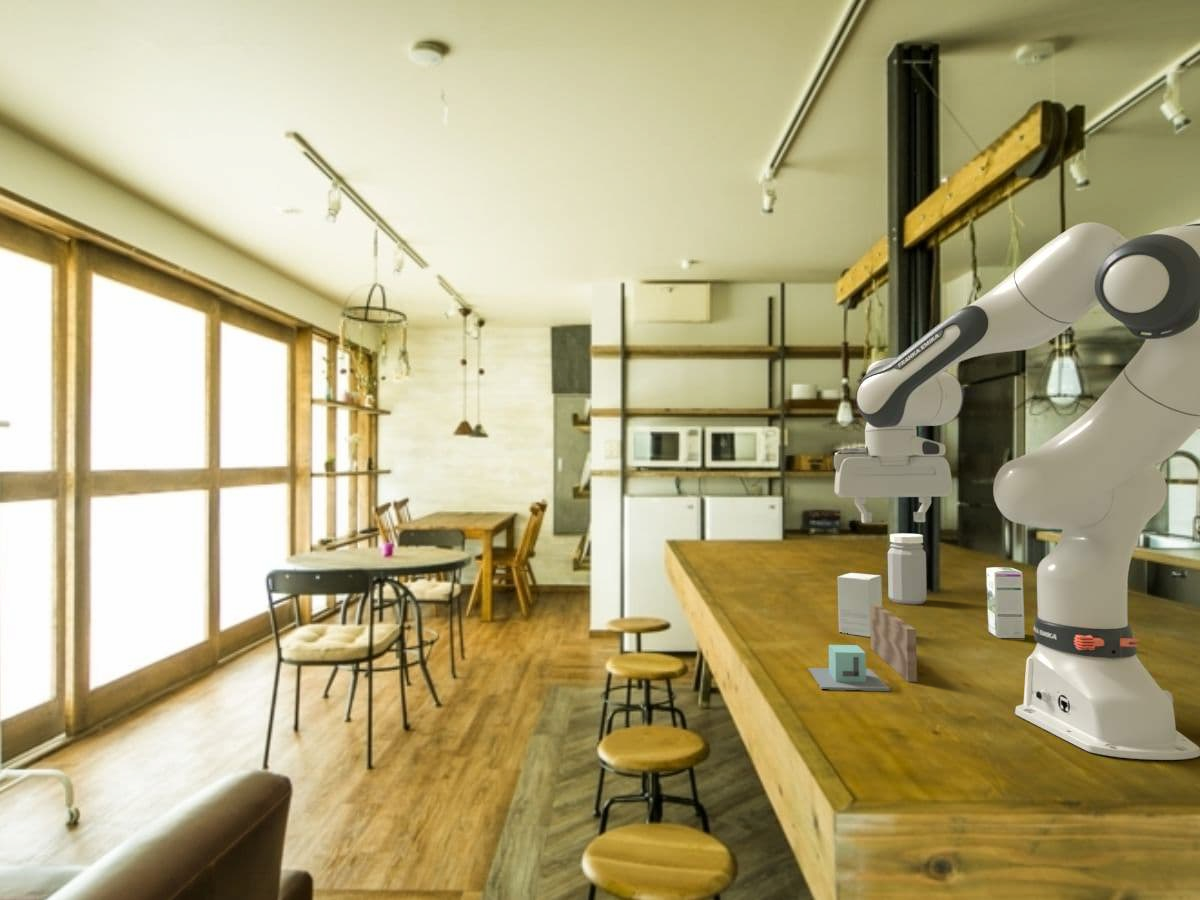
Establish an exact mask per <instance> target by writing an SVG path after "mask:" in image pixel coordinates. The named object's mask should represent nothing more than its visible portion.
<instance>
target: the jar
mask: <svg viewBox="0 0 1200 900" xmlns="http://www.w3.org/2000/svg"><path fill="white" fill-rule="evenodd" d="M923 538H924V535H923V534H920V533H918V534H917V533H900V532H899V533H890V534H889V542H891V544H890V545H889V547H890V548H889V550H888V551H887V589H888V590H887V592H888V593H887V596H888V599H890V600H891V602H893V603H895V604H896V603H897V604H901V605H922V604H924V603H925V602H926V601H927V595H928V594H927V553H926V551H925V550H924V549H923V548H924V545H923V543H924V539H923Z"/></svg>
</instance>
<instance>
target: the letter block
mask: <svg viewBox="0 0 1200 900" xmlns="http://www.w3.org/2000/svg"><path fill="white" fill-rule="evenodd" d="M866 658H867V657H866V652H865V650H863V649H862V648H861V647H860V646H859V645H858V644H855V645H854V644H853V645H852V644H828V668H829V674H830V675H831V676H832V677H833V679H834V680H835V681H836V682H866V669H867V668H866V667H867V664H866V663H867V662H866V660H867V659H866Z"/></svg>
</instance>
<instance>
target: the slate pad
mask: <svg viewBox="0 0 1200 900" xmlns="http://www.w3.org/2000/svg"><path fill="white" fill-rule="evenodd" d="M807 669H809V671H810V672H811V674H812V675H813V677H814V678H815V680H816V681H817V683H818V684H819V686H820V687H819V686H818V687H819V689H820V690H821V689H830V690H829V691H845V690H861V691H860V692H890V689H891V688H890V687H889V686H888V685H887V684H886V683H885V682H884V681H883V680H882V679H881V678H880V677H879V676H878V675H877V674H876V673H875V672H874V671H873V670H872V669H871V668H866V682H836V681H835V680H834V679H833V677H832V676H831V675H830V674H829V667H826V668H825V667H824V668H823V667H808V668H807ZM809 671H808V672H809ZM811 674H810V675H811ZM813 677H812V678H813ZM814 678H813V679H814ZM815 680H814V681H815ZM816 681H815V682H816ZM817 683H816V684H817ZM818 684H817V685H818ZM833 689H834V690H833ZM862 690H863V691H862Z"/></svg>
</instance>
